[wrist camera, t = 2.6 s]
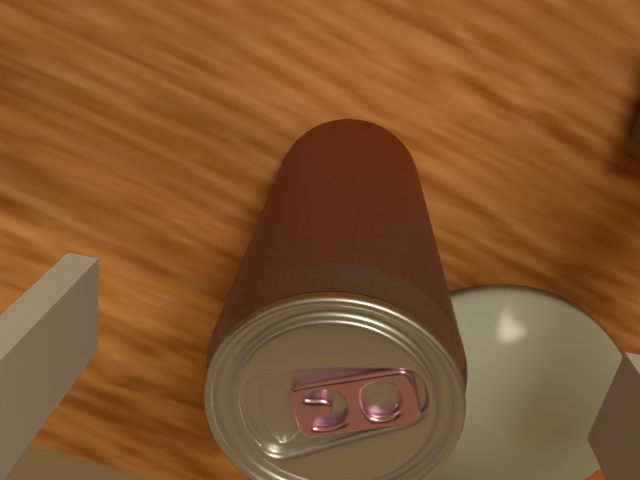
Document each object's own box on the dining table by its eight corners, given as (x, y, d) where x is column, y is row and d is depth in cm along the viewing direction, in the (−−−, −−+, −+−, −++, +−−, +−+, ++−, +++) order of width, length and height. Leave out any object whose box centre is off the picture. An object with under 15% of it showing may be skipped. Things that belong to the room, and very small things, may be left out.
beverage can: (428, 230, 27) (494, 497, 13) (300, 255, 28) (240, 529, 14) (403, 100, 25) (452, 263, 11) (264, 132, 26) (153, 318, 12)
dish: (340, 470, 33) (340, 487, 32) (388, 263, 28) (389, 274, 27) (572, 509, 33) (579, 527, 32) (664, 310, 28) (677, 324, 27)
